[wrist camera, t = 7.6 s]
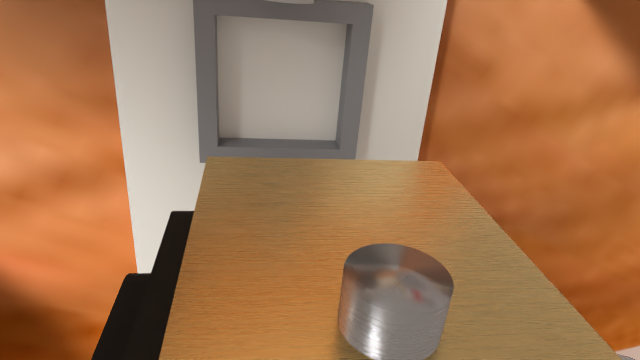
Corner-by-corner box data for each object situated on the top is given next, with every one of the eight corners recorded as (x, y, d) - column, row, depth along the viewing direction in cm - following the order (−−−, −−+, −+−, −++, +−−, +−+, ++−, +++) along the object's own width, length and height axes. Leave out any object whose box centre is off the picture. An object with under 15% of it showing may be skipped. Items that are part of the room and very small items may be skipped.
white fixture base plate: (82, -273, 19) (21, -355, 14) (474, -212, 22) (540, -263, 17) (143, 268, 32) (122, 327, 26) (390, 263, 34) (414, 316, 29)
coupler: (206, 123, 9) (131, 377, 3) (446, 131, 10) (687, 348, 4) (214, 359, 12) (179, 702, 6) (400, 351, 12) (510, 650, 7)
